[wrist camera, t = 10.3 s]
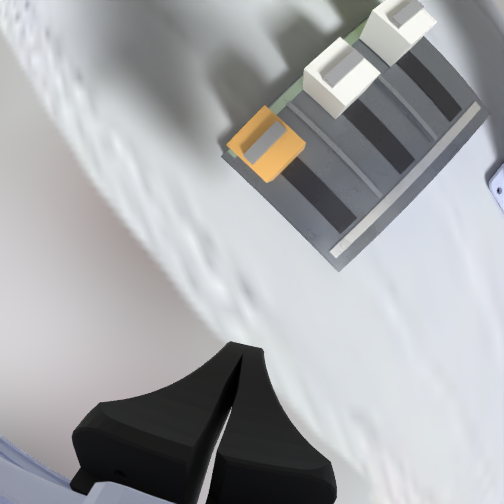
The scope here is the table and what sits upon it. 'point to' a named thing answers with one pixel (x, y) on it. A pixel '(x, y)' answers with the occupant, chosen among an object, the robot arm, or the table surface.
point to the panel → (368, 149)
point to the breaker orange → (266, 144)
